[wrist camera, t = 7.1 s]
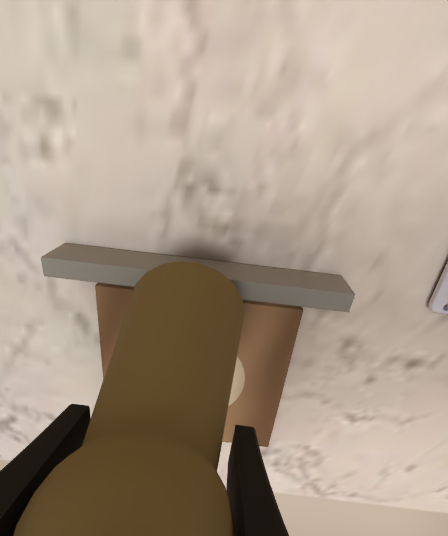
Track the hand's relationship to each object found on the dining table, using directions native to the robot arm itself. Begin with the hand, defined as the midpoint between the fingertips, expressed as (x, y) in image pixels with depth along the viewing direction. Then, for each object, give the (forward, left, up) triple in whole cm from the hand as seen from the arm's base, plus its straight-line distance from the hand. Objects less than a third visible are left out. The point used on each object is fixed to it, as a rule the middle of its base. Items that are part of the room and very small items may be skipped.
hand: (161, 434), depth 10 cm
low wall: (0, -2, -10) cm, 11 cm away
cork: (0, -1, -6) cm, 6 cm away
